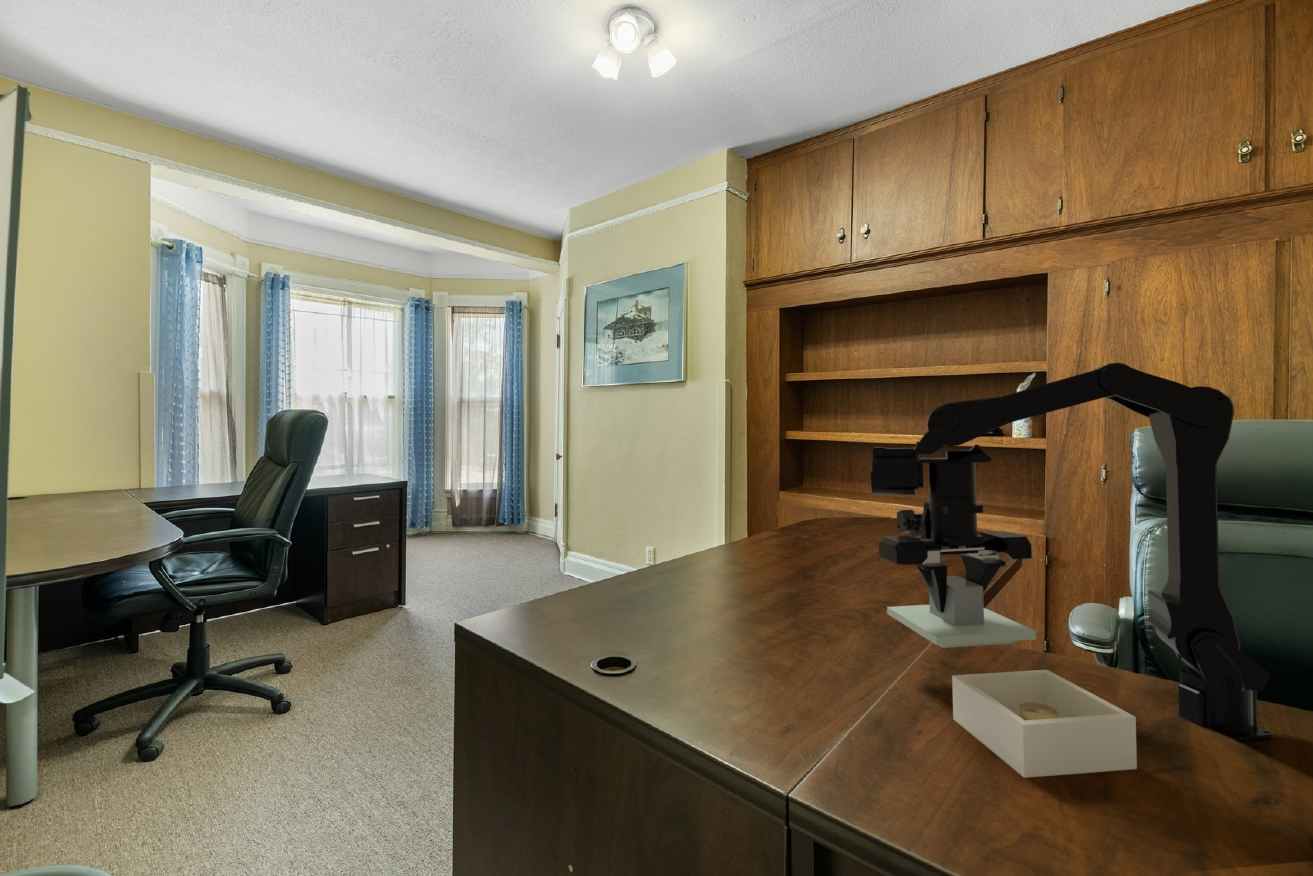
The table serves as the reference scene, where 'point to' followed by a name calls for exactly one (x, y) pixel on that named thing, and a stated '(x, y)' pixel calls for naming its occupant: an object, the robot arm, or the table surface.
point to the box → (1044, 724)
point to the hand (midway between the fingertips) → (955, 610)
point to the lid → (961, 619)
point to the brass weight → (1037, 711)
